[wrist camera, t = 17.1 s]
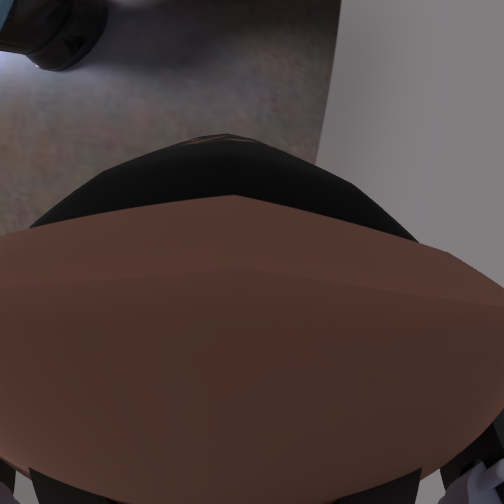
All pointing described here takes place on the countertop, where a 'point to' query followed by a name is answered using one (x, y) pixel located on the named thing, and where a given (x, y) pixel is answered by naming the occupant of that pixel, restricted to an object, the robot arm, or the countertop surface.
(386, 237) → the coffee jar
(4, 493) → the robot arm
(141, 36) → the countertop surface
